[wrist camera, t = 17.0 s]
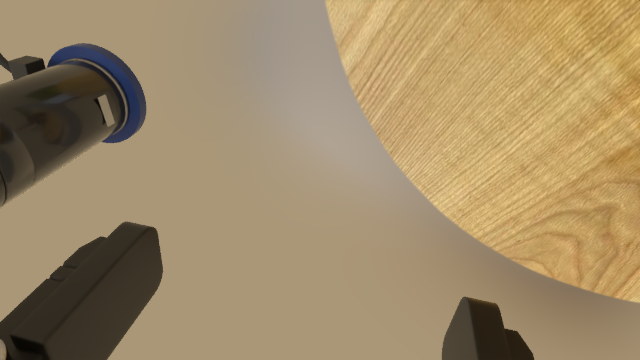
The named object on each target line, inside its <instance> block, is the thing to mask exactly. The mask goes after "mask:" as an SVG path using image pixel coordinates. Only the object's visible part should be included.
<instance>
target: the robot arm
mask: <svg viewBox="0 0 640 360" xmlns="http://www.w3.org/2000/svg"><path fill="white" fill-rule="evenodd" d="M0 65H2V66H3V67H4V68H5V69H7V70H8V71H10V72H11V73H12V76H13V79H14V80H12V81H9V82H6V83H3V84H1V85H0V208H1V207H3V206H4V205H6V204H7V203H9V202H10V201H12V200H13V199H15V198H17V197H18V196H20V195H21V194H22V193H24V192H26V191H27V190H28V189H30V188H31V187H33V186H34V185H36V184H37V183H39V182H40V181H42V180H44V179H45V178H47V177H48V176H50V175H51V174H53V173H54V172H56V171H57V170H59V169H60V168H62V167H64V166H65V165H67V164H68V163H70V162H71V161H73V160H74V159H76V158H77V157H79V156H80V155H82V154H83V153H84V152H86V151H88V150H89V149H91V148H92V147H94V146H96V145H97V144H98V143H100V142H102V141H103V140H105V139H106V138H108V137H109V136H111V135H113V134H115V133H117V132H119V131H120V130H121V129H123V128H124V127H125V125H126V124H127V122H128V119H129V115H130V106H129V101H128V97H127V95H126V92H125V90H124V88H123V87H122V85H121V83H120V82H119V81H118V79H117V78H116V77H115V76H114V75H113V74H112V73H111V72H110V71H109V70H108V69H106V68H105V67H104V66H102V65H101V64H99V63H97V62H95V61H92V60H90V59H86V58H72V59H69V60H66V61H63V62H62V63H60V64H58V65H55V66H52V67H49V68H46V69H45V65H44V61H43V59H42V58H36V57H31V56H24V57H21V58H18V59H14V60H11V61H7V60H6V59H5V58H4V57H3V56H2V55H1V53H0ZM162 273H163V266H162V260H161V253H160V246H159V239H158V233H157V230H156V229H155V228H154V227H150V226H145V225H140V224H136V223H131V222H124V223H122V224H121V225H119V226H118V227H117V229H115V230H114V231H113V232H112V233H111V234H110V235H109V236H108V237H107V238H105V237H99V238H97V239H95V240H93V241H92V242H90V243H88V244H86V245H84V246H82V247H80V248H79V249H78V250H77V251H76V252H75V253H74V254H73V255H72V256H70V257H69V259H67V260H66V261H65V262H64V264H63V266H60V267H59V268H58V269H57V270H56V271H55V272H53V273H52V274H51V275H50V278H49V279H46V280H45V281H44V282H43V283H42V284H41V285H40V286H39V287H37V288H36V289H35V290H34V291H33V292H32V293H31V294H30V295H29V296H28V297H27V298H26V299H25V300H23V301H22V302H21V303H20V304H19V305H18V306H17V307H16V308H15V309H14V310H13V311H12V312H11V313H10V314H9V315H7V316H6V318H4V319H3V320H2V321H1V322H0V360H107V359H108V357H109V356H110V355H111V353H112V352H113V350H114V349H115V348H116V346H117V345H118V343H119V342H120V341H121V339H122V338H123V337H124V335H125V334H126V332H127V331H128V329H129V328H130V327H131V325H132V324H133V323H134V321H135V320H136V318H137V317H138V315H139V314H140V313H141V311H142V310H143V309H144V307H145V306H146V305H147V303H148V302H149V300H150V299H151V298H152V296H153V295H154V293H155V292H156V290H157V289H158V287H159V284H160V282H161V279H162ZM442 360H534V357H533V353H532V352H531V350H530V349H529V347H528V346H527V345H526V343H525V342H524V340H523V339H522V338H521V336H520V335H519V333H518V332H517V331H513V330H508V329H504V325H503V321H502V317H501V313H500V310H499V307H498V305H497V304H496V303H491V302H487V301H482V300H478V299H473V298H468V297H463V298H462V299H461V301H460V303H459V305H458V307H457V310H456V312H455V314H454V316H453V319H452V321H451V323H450V326H449V328H448V330H447V332H446V335H445V338H444V342H443V348H442Z"/></svg>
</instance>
